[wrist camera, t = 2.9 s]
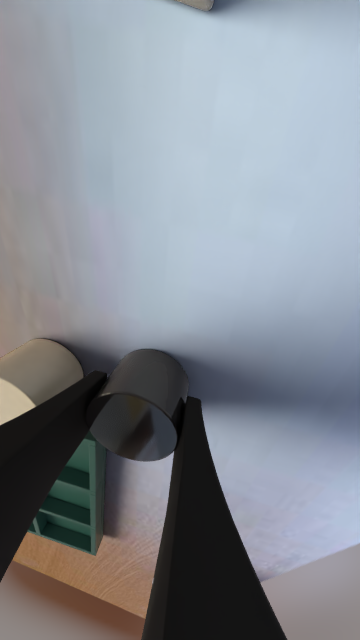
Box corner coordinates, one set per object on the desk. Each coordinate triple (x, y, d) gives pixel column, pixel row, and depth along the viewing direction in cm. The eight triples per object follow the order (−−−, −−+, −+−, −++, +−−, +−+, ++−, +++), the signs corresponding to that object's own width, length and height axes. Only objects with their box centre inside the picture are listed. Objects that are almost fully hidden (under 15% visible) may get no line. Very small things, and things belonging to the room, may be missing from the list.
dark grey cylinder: (181, 415, 12) (169, 472, 9) (116, 396, 12) (85, 446, 10) (196, 360, 10) (188, 410, 7) (119, 340, 11) (83, 380, 8)
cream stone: (84, 400, 13) (47, 448, 10) (27, 383, 13) (-26, 425, 11) (83, 348, 11) (37, 388, 8) (16, 330, 12) (-50, 363, 9)
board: (103, 535, 22) (95, 556, 20) (-49, 483, 23) (-66, 499, 22) (108, 421, 14) (95, 442, 12) (-127, 351, 15) (-161, 363, 14)
